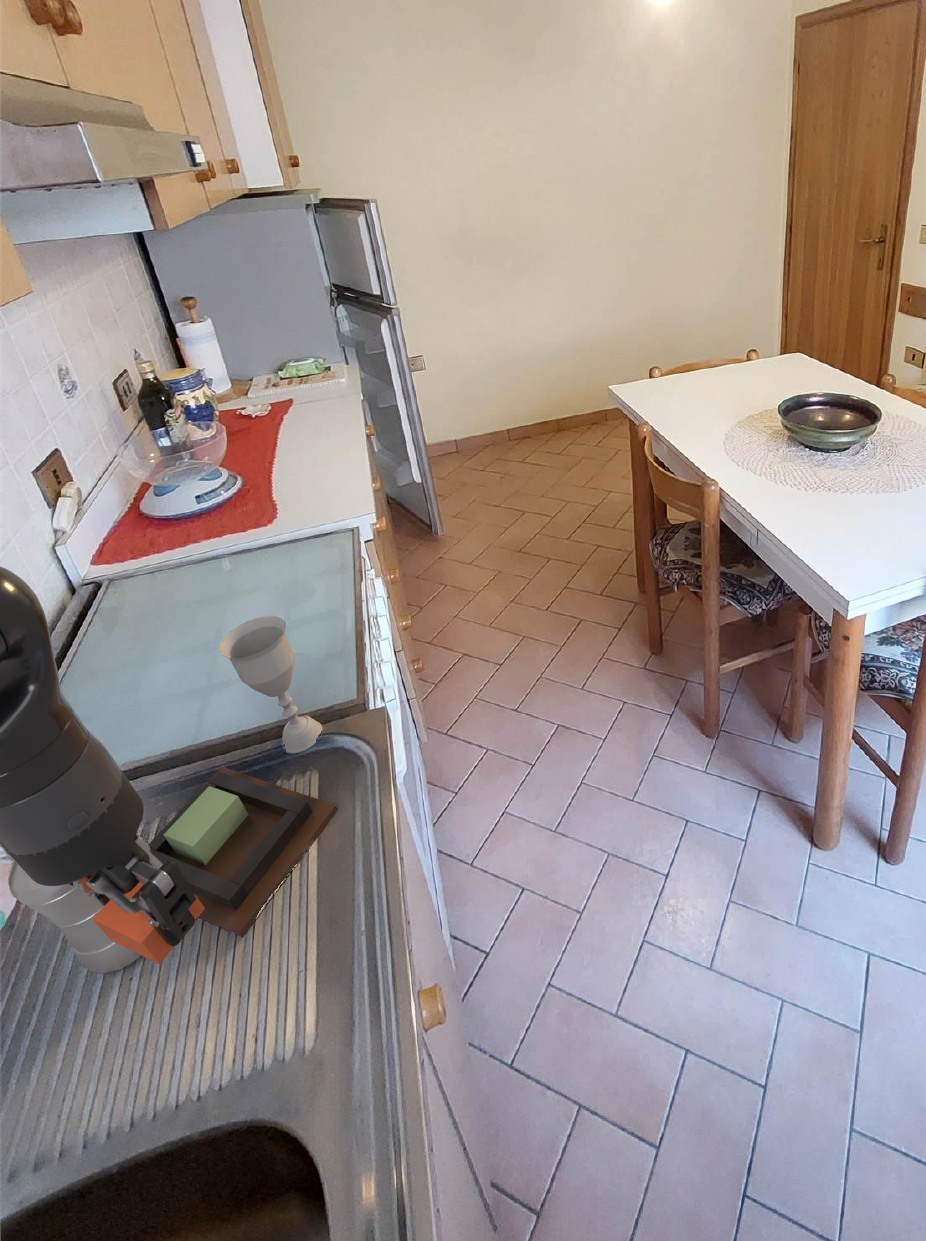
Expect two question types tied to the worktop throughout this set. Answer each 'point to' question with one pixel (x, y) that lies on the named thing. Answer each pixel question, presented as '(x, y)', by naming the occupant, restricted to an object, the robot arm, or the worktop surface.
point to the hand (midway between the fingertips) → (155, 920)
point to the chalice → (270, 673)
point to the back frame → (249, 849)
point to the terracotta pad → (136, 929)
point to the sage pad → (206, 825)
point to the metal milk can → (72, 920)
